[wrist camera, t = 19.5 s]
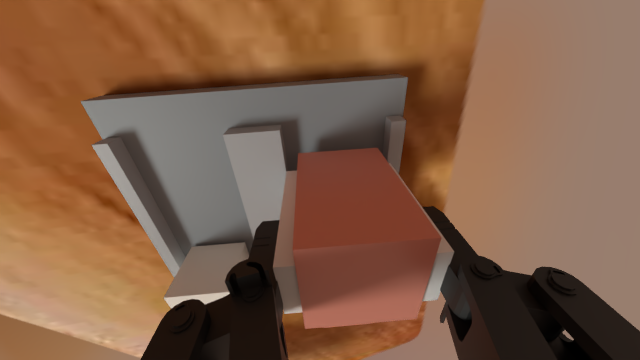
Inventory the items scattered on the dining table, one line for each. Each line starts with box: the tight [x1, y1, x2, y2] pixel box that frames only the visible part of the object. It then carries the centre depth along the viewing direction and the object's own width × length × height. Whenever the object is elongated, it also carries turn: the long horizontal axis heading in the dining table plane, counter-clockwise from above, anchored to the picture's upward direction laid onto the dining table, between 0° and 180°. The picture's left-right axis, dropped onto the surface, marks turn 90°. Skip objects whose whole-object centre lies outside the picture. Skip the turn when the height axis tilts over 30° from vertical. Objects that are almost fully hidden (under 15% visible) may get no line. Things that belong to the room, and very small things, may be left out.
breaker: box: [164, 242, 249, 309], centre depth 16 cm, size 4×4×4 cm
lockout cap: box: [293, 148, 441, 329], centre depth 11 cm, size 4×4×7 cm
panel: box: [81, 74, 408, 278], centre depth 17 cm, size 20×17×4 cm
